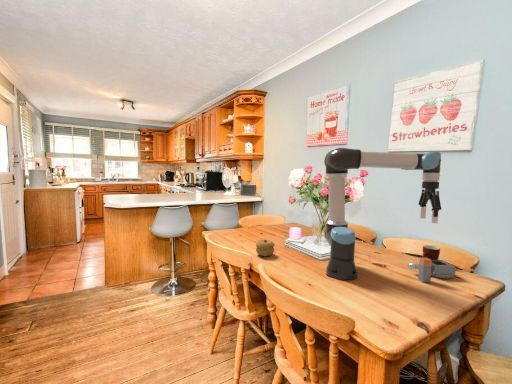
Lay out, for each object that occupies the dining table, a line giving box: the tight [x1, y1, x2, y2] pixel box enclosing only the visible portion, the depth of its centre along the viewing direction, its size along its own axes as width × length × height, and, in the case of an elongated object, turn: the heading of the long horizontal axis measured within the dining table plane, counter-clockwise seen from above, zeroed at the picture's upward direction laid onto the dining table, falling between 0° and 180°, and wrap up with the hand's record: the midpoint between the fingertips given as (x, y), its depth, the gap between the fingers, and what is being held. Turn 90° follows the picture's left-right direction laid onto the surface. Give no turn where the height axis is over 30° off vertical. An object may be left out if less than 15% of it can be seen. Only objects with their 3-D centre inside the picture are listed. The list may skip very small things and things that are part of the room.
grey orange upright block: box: [417, 257, 432, 284], centre depth 123 cm, size 4×4×11 cm
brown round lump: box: [255, 238, 275, 257], centre depth 160 cm, size 12×12×10 cm
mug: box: [421, 244, 441, 260], centre depth 145 cm, size 11×8×10 cm
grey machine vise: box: [407, 259, 457, 280], centre depth 132 cm, size 21×12×6 cm, turn 86°
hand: (428, 220), depth 137 cm, fingers open, 13 cm apart
